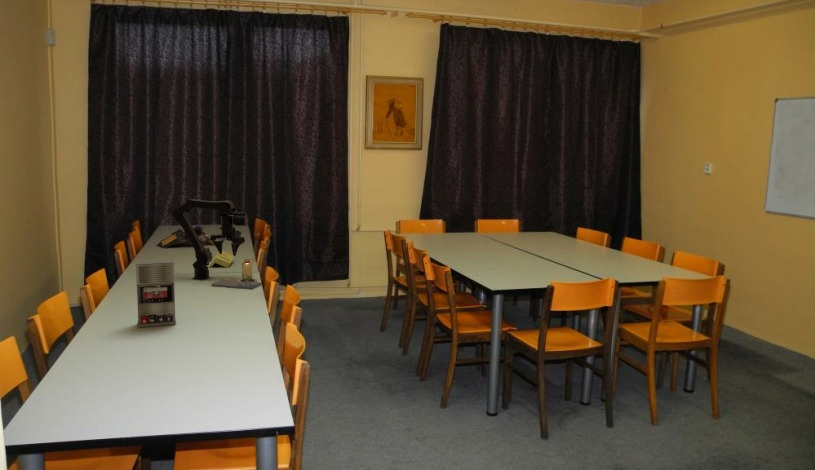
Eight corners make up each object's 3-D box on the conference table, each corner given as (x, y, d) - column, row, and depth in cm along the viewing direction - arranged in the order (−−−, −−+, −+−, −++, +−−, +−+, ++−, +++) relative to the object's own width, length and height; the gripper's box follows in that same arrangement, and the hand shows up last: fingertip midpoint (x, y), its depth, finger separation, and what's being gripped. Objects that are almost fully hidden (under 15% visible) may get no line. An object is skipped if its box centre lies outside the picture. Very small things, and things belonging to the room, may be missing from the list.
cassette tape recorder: (138, 328, 244) (135, 265, 240) (137, 323, 250) (135, 261, 246) (175, 325, 250) (174, 263, 246) (174, 320, 255) (173, 260, 251)
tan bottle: (241, 285, 313) (240, 260, 311) (243, 283, 317) (242, 258, 315) (251, 285, 313) (251, 260, 311) (253, 283, 318) (252, 258, 316)
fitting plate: (211, 286, 313) (210, 280, 313) (221, 281, 324) (221, 275, 324) (252, 289, 309) (252, 283, 309) (261, 284, 320) (261, 278, 319)
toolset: (165, 249, 401) (150, 220, 414) (163, 269, 414) (148, 241, 426) (224, 235, 425) (208, 208, 438) (221, 255, 438) (205, 228, 451)
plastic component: (230, 263, 357) (213, 256, 354) (224, 275, 358) (208, 267, 355) (234, 254, 376) (218, 247, 373) (229, 265, 377) (213, 258, 374)
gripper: (251, 225, 327) (252, 254, 329) (224, 222, 335) (225, 250, 337) (237, 227, 317) (237, 258, 319) (209, 224, 325) (209, 254, 328)
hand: (227, 255), depth 326 cm, fingers open, 9 cm apart
